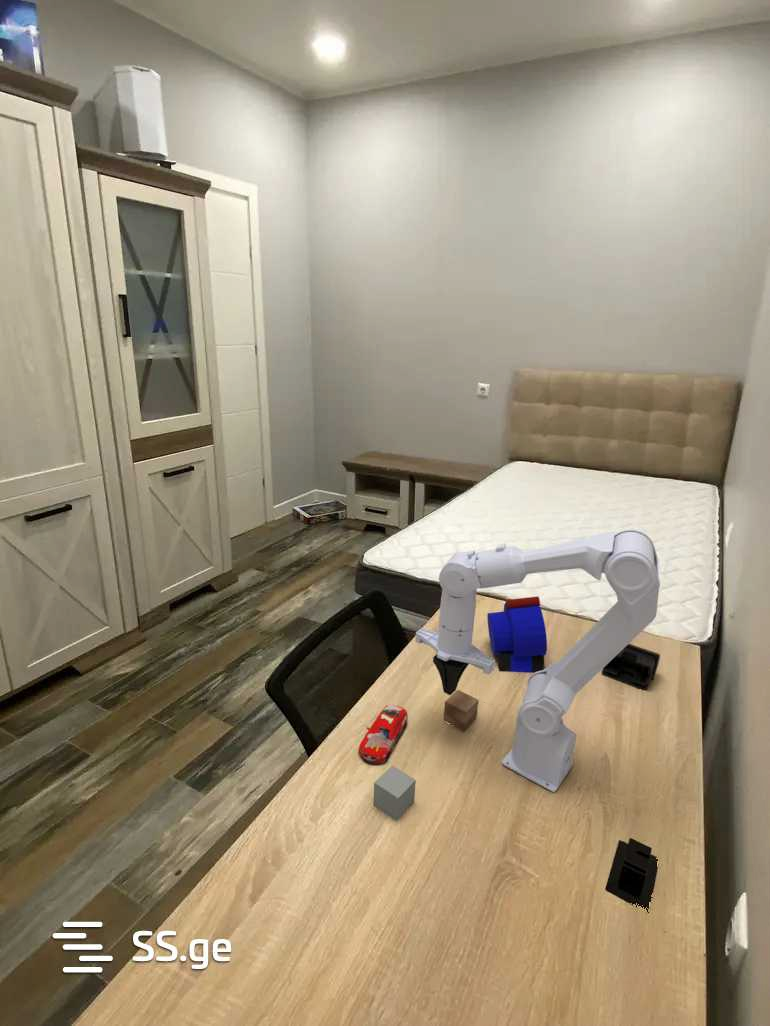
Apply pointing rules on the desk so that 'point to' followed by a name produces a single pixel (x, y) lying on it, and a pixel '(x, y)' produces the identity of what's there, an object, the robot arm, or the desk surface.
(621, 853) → the black open box
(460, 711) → the walnut block
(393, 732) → the race car
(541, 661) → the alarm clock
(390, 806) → the slate block
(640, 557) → the robot arm
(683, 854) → the desk surface
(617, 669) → the black slotted holder
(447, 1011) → the desk surface
